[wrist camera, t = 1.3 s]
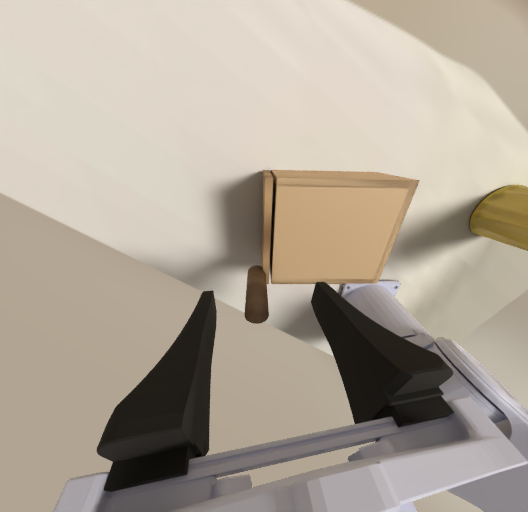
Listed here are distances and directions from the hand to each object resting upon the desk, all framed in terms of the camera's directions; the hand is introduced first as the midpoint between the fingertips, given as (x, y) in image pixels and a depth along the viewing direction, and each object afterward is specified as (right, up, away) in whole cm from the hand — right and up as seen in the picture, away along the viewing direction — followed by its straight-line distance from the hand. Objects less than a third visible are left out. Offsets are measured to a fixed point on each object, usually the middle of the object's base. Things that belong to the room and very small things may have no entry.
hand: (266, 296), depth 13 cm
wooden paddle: (-1, +7, +8) cm, 11 cm away
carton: (+6, +7, +9) cm, 13 cm away
